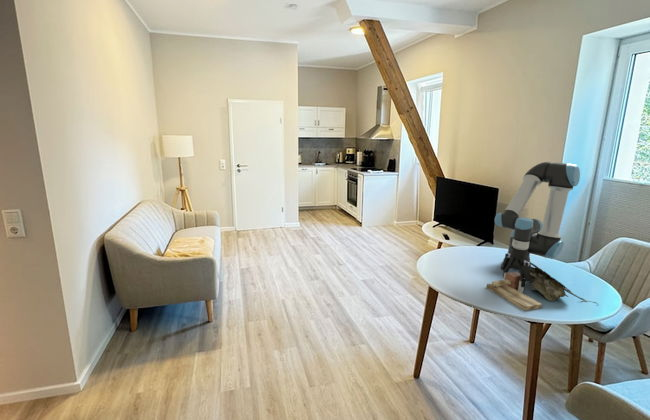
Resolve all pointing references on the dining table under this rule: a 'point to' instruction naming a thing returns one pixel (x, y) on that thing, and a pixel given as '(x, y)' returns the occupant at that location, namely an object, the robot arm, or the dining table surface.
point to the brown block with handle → (509, 280)
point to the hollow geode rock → (546, 284)
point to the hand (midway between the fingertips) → (512, 287)
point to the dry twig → (577, 296)
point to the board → (515, 297)
